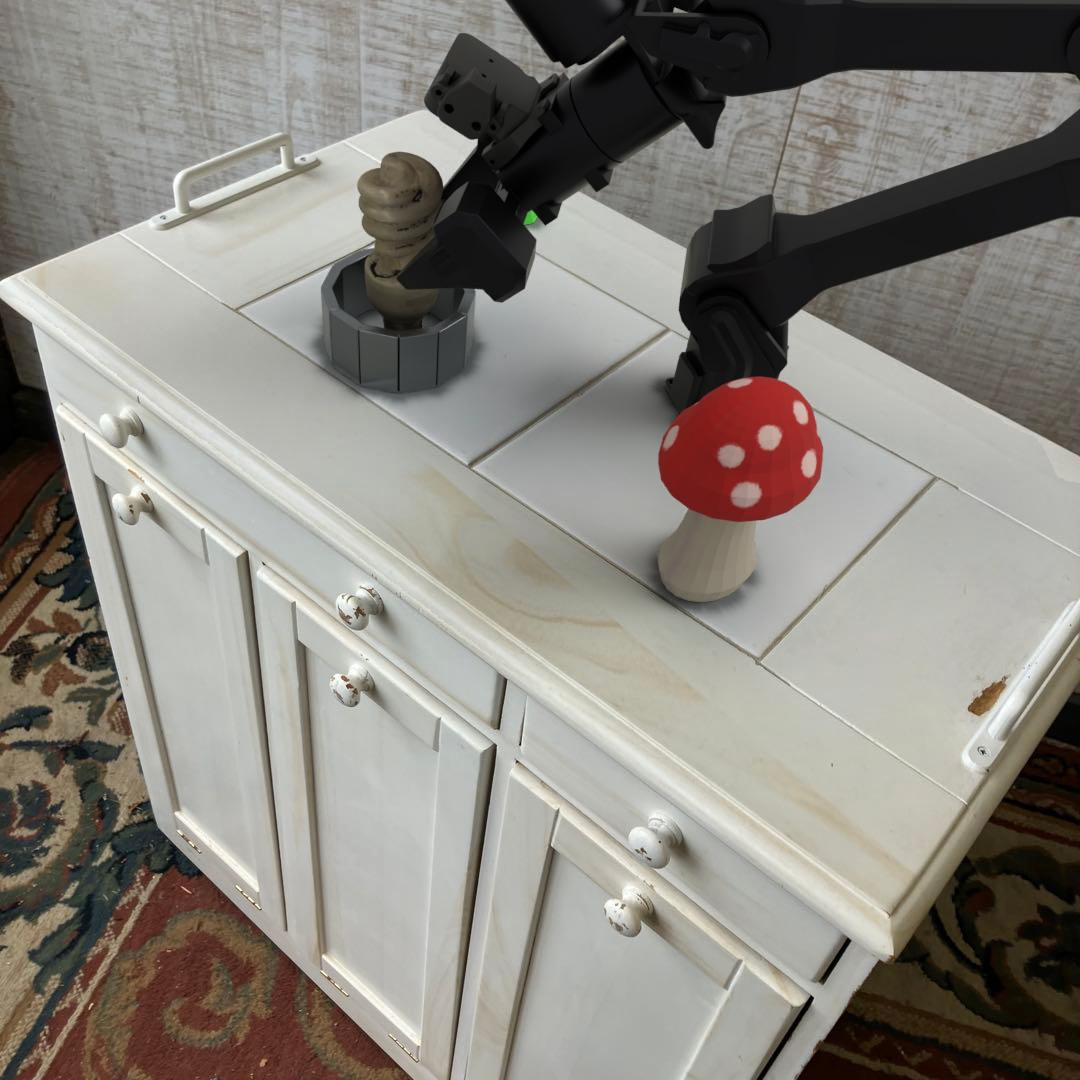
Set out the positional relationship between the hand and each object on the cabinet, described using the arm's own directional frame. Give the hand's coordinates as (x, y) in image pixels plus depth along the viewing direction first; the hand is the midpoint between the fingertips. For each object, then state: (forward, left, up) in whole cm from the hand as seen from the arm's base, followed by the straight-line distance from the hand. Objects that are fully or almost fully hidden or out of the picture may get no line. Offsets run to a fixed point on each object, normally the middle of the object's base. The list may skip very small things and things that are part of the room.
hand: (419, 244), depth 74 cm
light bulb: (+1, -1, -9) cm, 9 cm away
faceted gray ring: (+1, -1, -9) cm, 9 cm away
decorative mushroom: (-12, +25, -9) cm, 29 cm away
